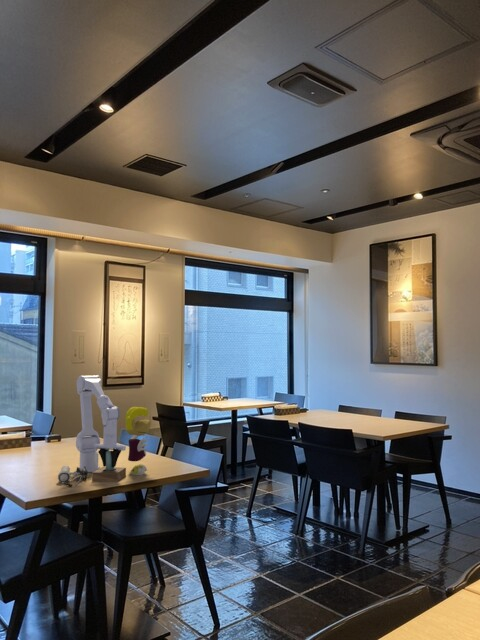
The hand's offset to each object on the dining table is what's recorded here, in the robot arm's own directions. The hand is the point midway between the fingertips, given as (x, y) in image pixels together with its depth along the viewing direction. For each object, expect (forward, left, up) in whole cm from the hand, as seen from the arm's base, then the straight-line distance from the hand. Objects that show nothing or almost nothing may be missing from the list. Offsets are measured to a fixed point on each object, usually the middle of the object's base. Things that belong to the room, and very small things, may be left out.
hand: (109, 466), depth 220 cm
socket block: (0, 0, -5) cm, 5 cm away
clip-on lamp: (+8, -13, -5) cm, 16 cm away
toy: (-14, +8, -5) cm, 17 cm away
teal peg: (-1, 0, -2) cm, 3 cm away
